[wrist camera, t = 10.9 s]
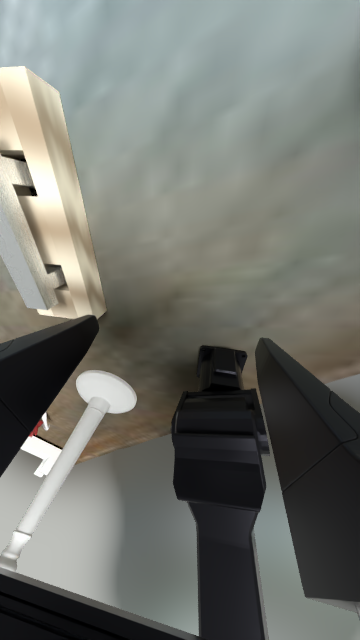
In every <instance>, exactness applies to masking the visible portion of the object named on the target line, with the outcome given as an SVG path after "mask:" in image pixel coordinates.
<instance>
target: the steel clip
mask: <svg viewBox="0 0 360 640" xmlns="http://www.w3.org/2000/svg"><path fill="white" fill-rule="evenodd" d="M13 186H19V187H29V188H35V185H34V182H33V179H32V176H31V173H30V170H29V167H28V164H27V162H23V161H18V160H14V159H10V158H6V157H2V156H1V154H0V255H1V257H2V259H3V261H4V263H5V265H6V267H7V269H8V271H9V272H10V274H11V276H12V278H13V280H14V282H15V284H16V286H17V288H18V290H19V292H20V294H21V296H22V298H23V300H24V302H25V304H26V306H27V308H33V309H41V310H49V309H50V308H52V307H54V306H55V305H57V304H58V300H57V298H56V295H55V293H54V290H53V289H55V288H57V287H59V286H61V285H63V284H65V283H67V282H66V279H65V276H64V273H63V270H62V267H61V265H55V264H51V265H48V266H45V267H44V264H43V262H42V259H41V257H40V254H39V252H38V249H37V246H36V244H35V241H34V239H33V236H32V234H31V231H30V228H29V226H28V223H27V221H26V218H25V215H24V213H23V210H22V208H21V205H20V203H19V200H18V197H17V195H16V192H15V190H14V187H13Z"/></svg>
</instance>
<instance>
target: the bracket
mask: <svg viewBox="0 0 360 640" xmlns="http://www.w3.org/2000/svg"><path fill="white" fill-rule="evenodd" d="M20 449H22V450H24V451H27V452H29V453H31V454H33V455H35V456H38V457H40V458H42V459H44V460H43V461H42V463H41V464H40V465H39V467H38V468H37V470H36V471H35V473H34V474H35V475H37V476H39V477H42V476H43V474H45V475H47V474H48V473H49V471H50V470H51V468H52V466H53V465H54V463H55V461H56V460H57V458H58V456H59V455H60V453H61V451H62V450H61V449H59V448H57V447H55V446H53V445H51V444H49V443H47V442H45V441H43V440H41V439H39V438H37V437H35V436H32V437H28V438H27V440H26V441H25V443H24V444H23V445H22V447H21V448H20Z"/></svg>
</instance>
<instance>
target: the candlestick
mask: <svg viewBox="0 0 360 640" xmlns="http://www.w3.org/2000/svg"><path fill="white" fill-rule="evenodd" d="M76 387H77V390H78V392H79V394H80V396H81V397H82V398H83V399H84V400H85V401H86V402H87V403H88V407H87V408H86V409H85V412H84V413H83V415H82V417H81V419H80V420H79V422H78V424H77V425H76V427H75V429H74V431H73V432H72V434H71V436H70V437H69V439H68V441H67V443H66V444H65V446H64V448H63V449H62V451H61V453H60V455H59V456H58V458H57V460H56V461H55V463H54V465H53V467H52V468H51V470H50V472H49V473H48V475H47V477H46V479H45V480H44V482H43V484H42V486H41V487H40V489H39V491H38V492H37V494H36V496H35V497H34V499H33V501H32V502H31V504H30V506H29V508H28V509H27V511H26V513H25V515H24V516H23V518H22V520H21V521H20V523H19V525H18V526H17V528H16V530H15V531H14V533H13V537H12V539H11V541H10V543H9V545H8V546H7V547H6V548H5V549H4V551H3V552H2V554H1V556H0V567H2V568H4V569H7V570H10V571H13V572H15V571H16V568H17V562H16V560H17V559H18V558H19V556H20V553H21V550H22V548H23V547H24V545H25V543H26V542H27V541H28V540H29V539H30V538H31V537H32V534H33V533H34V531H35V529H36V527H37V526H38V524H39V522H40V521H41V519H42V518H43V516H44V514H45V513H46V511H47V509H48V508H49V506H50V504H51V503H52V501H53V499H54V497H55V496H56V494H57V493H58V491H59V489H60V488H61V486H62V484H63V483H64V481H65V479H66V478H67V476H68V474H69V473H70V471H71V469H72V468H73V466H74V464H75V463H76V461H77V459H78V458H79V456H80V454H81V453H82V451H83V449H84V448H85V446H86V444H87V443H88V441H89V439H90V438H91V436H92V434H93V433H94V431H95V429H96V428H97V426H98V424H99V423H100V421H101V420H102V418H103V417H104V415H105V413H106V412H108V413H124V412H127V411H130V410H131V409H133V408H134V406H135V404H136V402H137V396H136V393H135V391H134V390H133V388H132V387H131V386H130V385H129V384H128V383H127V382H125V381H124V380H123V379H121V378H119V377H118V376H116V375H113V374H111V373H108V372H105V371H100V370H89V371H85V372H83V373H81V374H80V376H79V377H78V378H77V380H76Z"/></svg>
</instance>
